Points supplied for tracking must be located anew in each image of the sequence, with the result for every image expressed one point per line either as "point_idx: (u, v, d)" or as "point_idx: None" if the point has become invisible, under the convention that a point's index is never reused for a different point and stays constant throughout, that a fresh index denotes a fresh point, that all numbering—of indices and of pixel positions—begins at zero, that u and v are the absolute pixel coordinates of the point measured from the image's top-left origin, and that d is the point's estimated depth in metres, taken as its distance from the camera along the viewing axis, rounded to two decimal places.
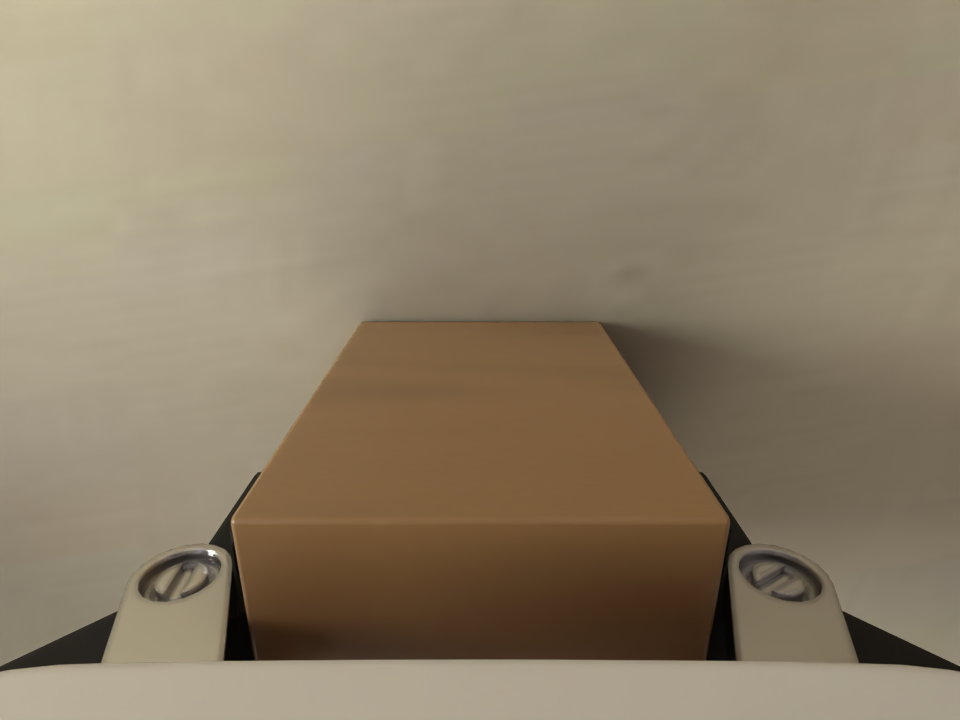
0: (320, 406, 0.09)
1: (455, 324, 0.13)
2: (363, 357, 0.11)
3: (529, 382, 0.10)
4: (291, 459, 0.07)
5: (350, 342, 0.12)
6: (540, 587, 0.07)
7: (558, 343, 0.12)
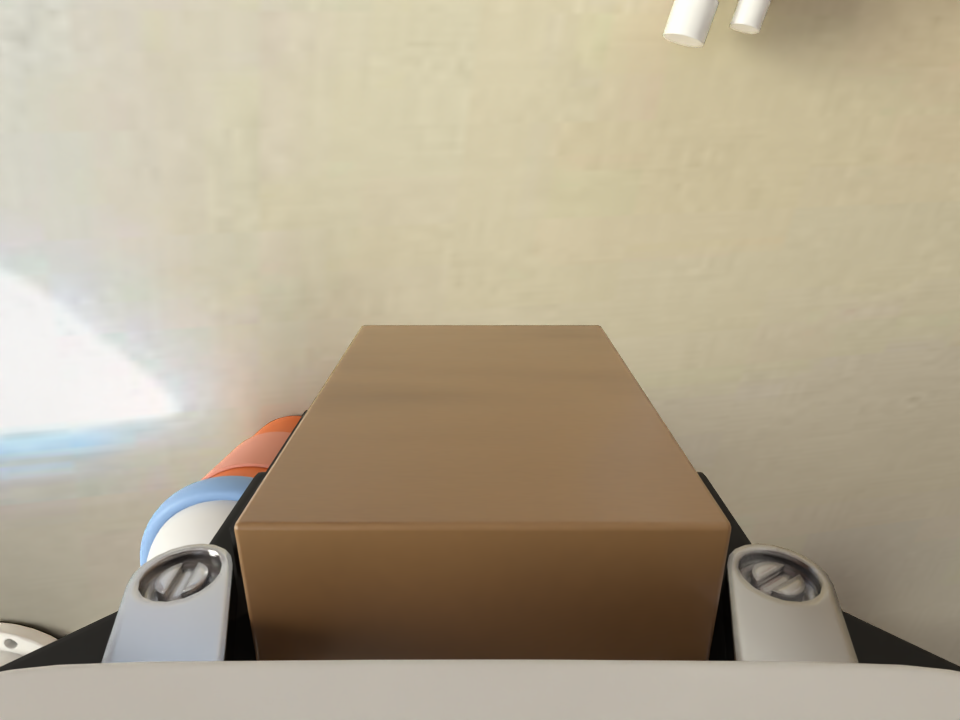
0: (322, 411, 0.09)
1: (456, 327, 0.13)
2: (364, 361, 0.11)
3: (531, 386, 0.10)
4: (294, 464, 0.07)
5: (352, 346, 0.12)
6: (543, 592, 0.07)
7: (559, 347, 0.12)
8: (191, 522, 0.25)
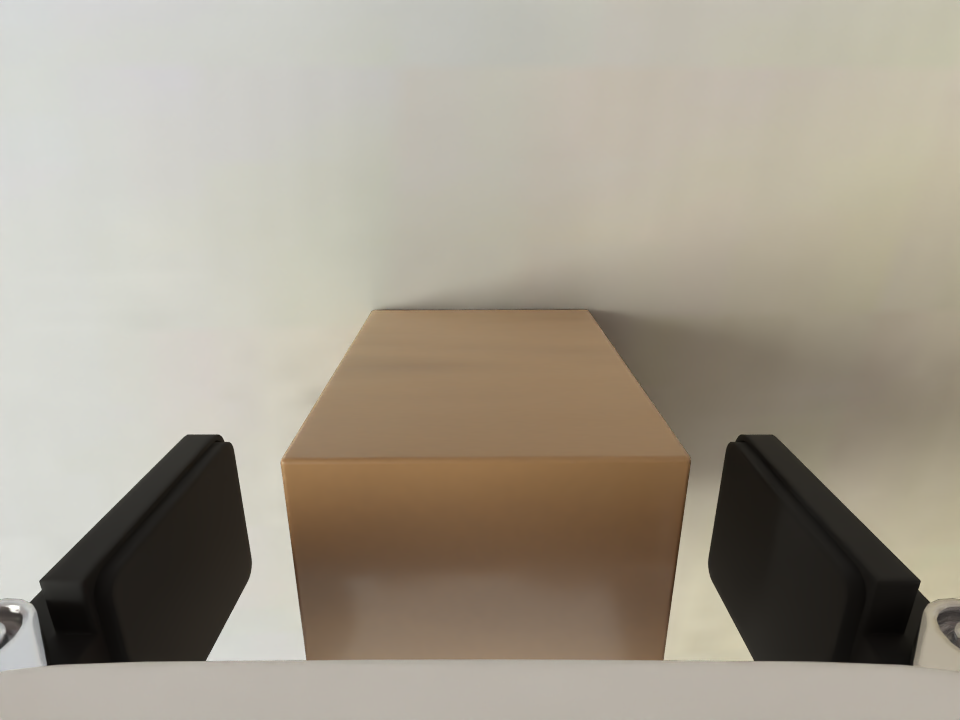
0: (344, 377, 0.10)
1: (458, 311, 0.14)
2: (377, 338, 0.12)
3: (526, 358, 0.11)
4: (324, 417, 0.09)
5: (365, 327, 0.13)
6: (537, 517, 0.08)
7: (550, 327, 0.13)
8: None
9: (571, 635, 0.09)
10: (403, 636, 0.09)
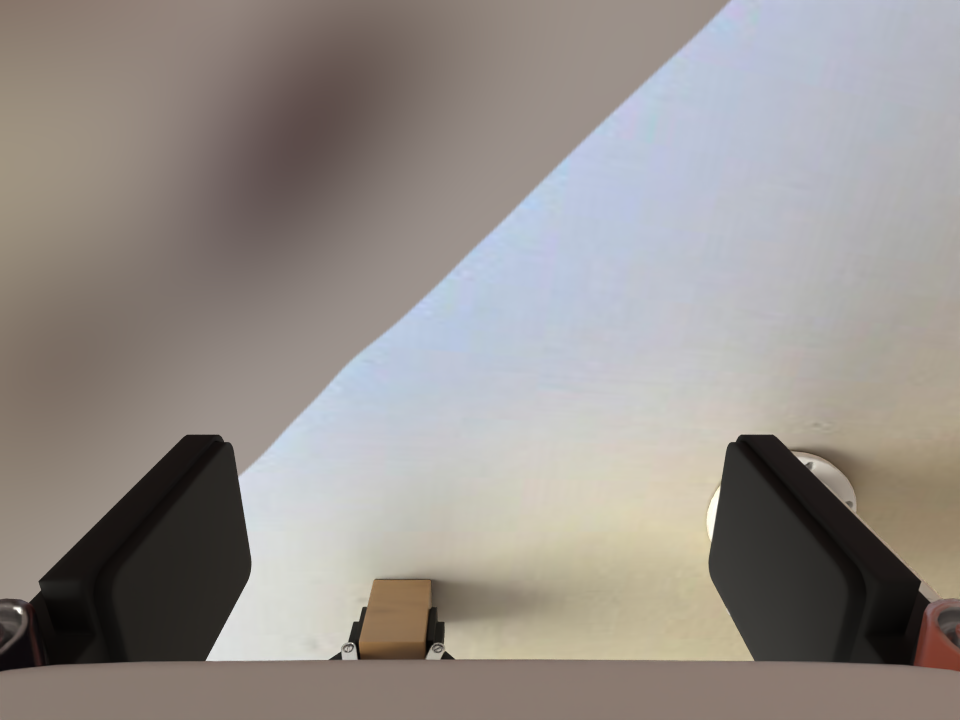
0: (368, 615, 0.51)
1: (396, 581, 0.55)
2: (375, 597, 0.53)
3: (406, 607, 0.52)
4: (365, 629, 0.49)
5: (372, 590, 0.54)
6: (399, 650, 0.48)
7: (417, 591, 0.54)
8: None
9: None
10: None
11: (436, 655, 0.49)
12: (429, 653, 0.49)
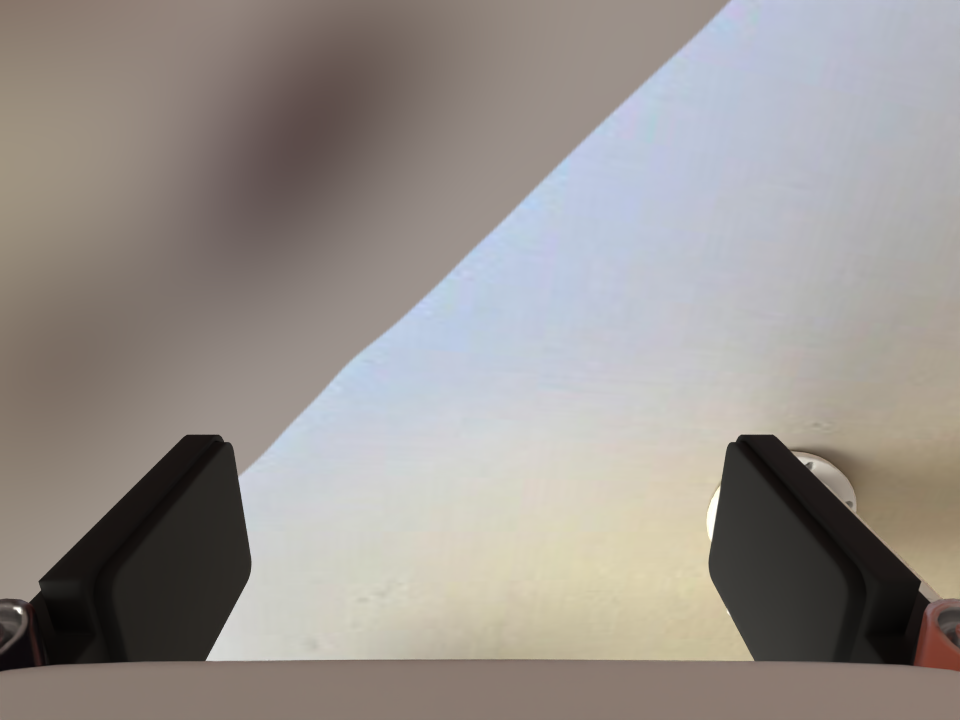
0: None
1: None
2: None
3: None
4: None
5: None
6: None
7: None
8: None
9: None
10: None
11: None
12: None
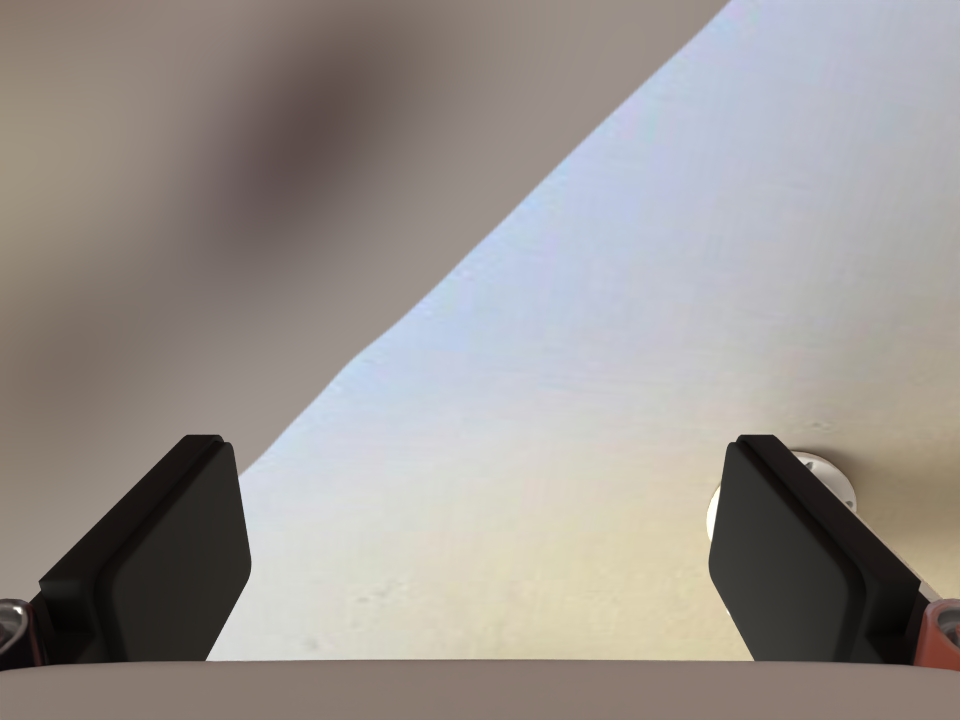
0: None
1: None
2: None
3: None
4: None
5: None
6: None
7: None
8: None
9: None
10: None
11: None
12: None
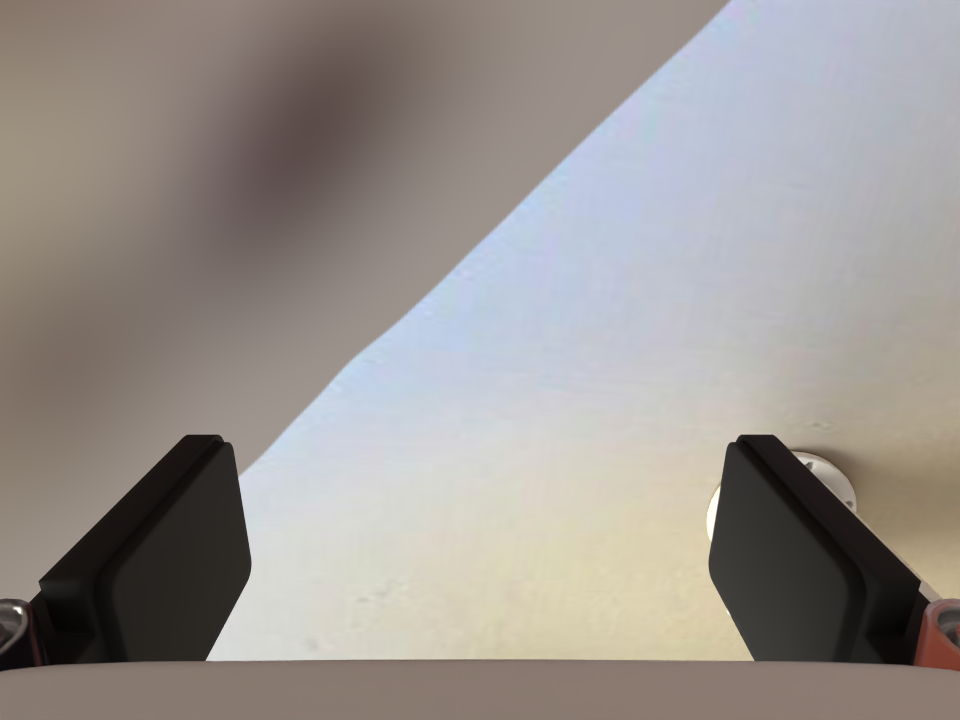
0: None
1: None
2: None
3: None
4: None
5: None
6: None
7: None
8: None
9: None
10: None
11: None
12: None
